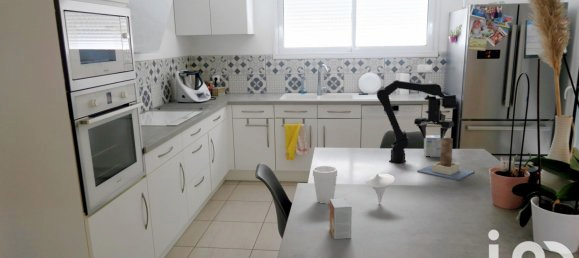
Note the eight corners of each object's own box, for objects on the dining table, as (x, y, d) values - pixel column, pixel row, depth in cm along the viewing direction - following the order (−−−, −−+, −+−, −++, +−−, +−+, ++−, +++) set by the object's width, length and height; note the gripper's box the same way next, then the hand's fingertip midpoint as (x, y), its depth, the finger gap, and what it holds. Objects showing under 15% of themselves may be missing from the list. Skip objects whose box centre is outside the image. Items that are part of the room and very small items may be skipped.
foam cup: (339, 198, 168) (339, 166, 165) (334, 206, 159) (334, 173, 157) (316, 196, 171) (316, 165, 169) (310, 204, 162) (309, 171, 160)
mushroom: (379, 210, 154) (380, 179, 152) (360, 202, 163) (360, 172, 161) (400, 204, 159) (401, 174, 157) (379, 196, 168) (380, 167, 166)
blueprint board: (417, 171, 201) (417, 163, 200) (433, 165, 212) (434, 157, 211) (458, 180, 187) (459, 171, 186) (474, 172, 198) (474, 164, 197)
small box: (329, 229, 140) (329, 198, 138) (346, 228, 140) (346, 197, 138) (333, 239, 132) (333, 207, 130) (351, 238, 132) (351, 206, 130)
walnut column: (440, 166, 197) (441, 139, 195) (439, 164, 202) (441, 137, 199) (451, 167, 196) (453, 140, 193) (451, 164, 200) (452, 137, 198)
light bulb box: (443, 154, 233) (443, 134, 231) (446, 157, 227) (447, 137, 225) (423, 154, 234) (423, 135, 232) (425, 157, 228) (426, 137, 226)
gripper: (459, 108, 210) (458, 139, 213) (425, 105, 224) (424, 134, 226) (449, 110, 203) (447, 142, 206) (413, 108, 216) (413, 138, 219)
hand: (433, 139), depth 214 cm, fingers open, 9 cm apart
